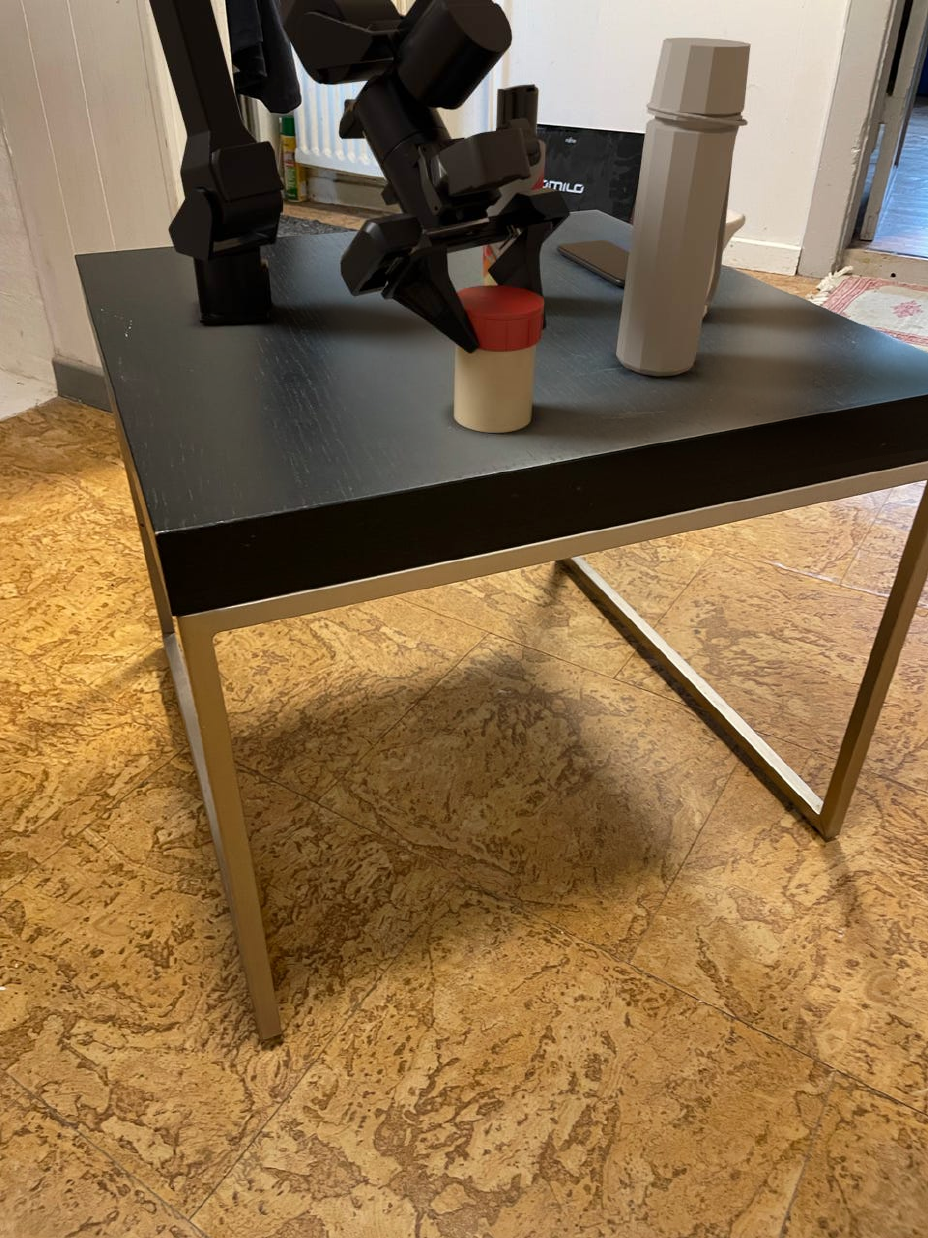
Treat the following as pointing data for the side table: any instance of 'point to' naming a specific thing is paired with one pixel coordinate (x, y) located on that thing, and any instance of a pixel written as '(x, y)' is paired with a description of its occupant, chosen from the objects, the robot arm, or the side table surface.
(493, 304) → the jar lid
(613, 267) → the smartphone
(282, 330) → the side table surface
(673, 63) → the water bottle
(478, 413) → the jar
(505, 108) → the lotion bottle
